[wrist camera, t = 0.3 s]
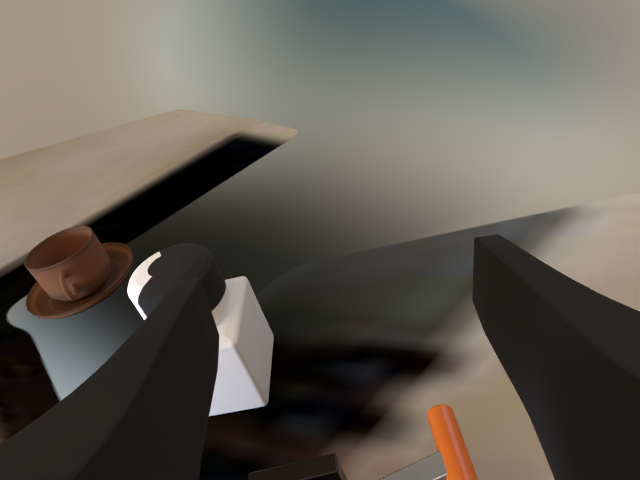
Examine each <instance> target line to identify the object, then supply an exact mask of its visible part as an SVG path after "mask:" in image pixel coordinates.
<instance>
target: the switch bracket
mask: <svg viewBox="0 0 640 480" xmlns="http://www.w3.org/2000/svg"><path fill="white" fill-rule="evenodd" d="M248 480H347V478H346V476H345V474H344V472H343V469H342V467H341V465H340V463H339V460H338V458H337V456H336V454H330V455H325V456H321V457H317V458H312V459H308V460H304V461H300V462H295V463H291V464H287V465H282V466H278V467H274V468H270V469H265V470H261V471H257V472H252V473H249V474H248Z"/></svg>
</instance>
